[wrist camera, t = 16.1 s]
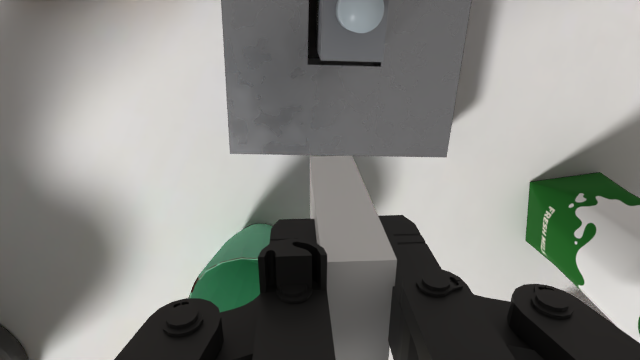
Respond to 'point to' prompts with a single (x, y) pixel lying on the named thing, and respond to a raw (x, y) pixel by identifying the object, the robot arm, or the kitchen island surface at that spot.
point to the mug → (234, 270)
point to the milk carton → (591, 240)
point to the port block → (342, 82)
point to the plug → (351, 30)
